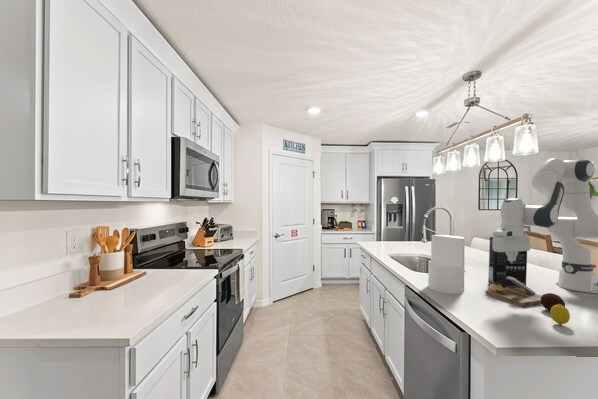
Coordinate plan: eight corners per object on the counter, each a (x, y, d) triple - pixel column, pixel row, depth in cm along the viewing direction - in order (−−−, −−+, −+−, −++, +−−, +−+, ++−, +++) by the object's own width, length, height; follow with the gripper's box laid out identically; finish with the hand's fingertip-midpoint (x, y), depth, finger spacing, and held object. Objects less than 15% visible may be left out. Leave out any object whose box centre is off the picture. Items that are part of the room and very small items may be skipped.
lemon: (546, 322, 112) (546, 301, 112) (559, 321, 112) (559, 301, 112) (560, 328, 106) (560, 306, 106) (574, 328, 107) (574, 306, 107)
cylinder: (440, 282, 166) (440, 234, 166) (470, 290, 151) (471, 237, 152) (421, 286, 157) (421, 235, 157) (452, 295, 142) (452, 239, 143)
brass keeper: (496, 289, 146) (496, 282, 146) (507, 292, 140) (507, 286, 140) (490, 289, 145) (490, 283, 145) (501, 293, 139) (501, 286, 139)
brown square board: (514, 291, 151) (514, 287, 151) (553, 303, 133) (553, 298, 133) (485, 294, 145) (485, 290, 145) (522, 307, 128) (522, 302, 128)
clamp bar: (528, 292, 142) (529, 290, 142) (534, 294, 139) (535, 292, 140) (506, 278, 138) (507, 276, 138) (513, 279, 135) (513, 277, 136)
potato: (547, 314, 120) (547, 296, 120) (535, 306, 128) (535, 289, 129) (570, 316, 117) (570, 298, 117) (557, 308, 126) (557, 291, 126)
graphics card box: (519, 284, 163) (519, 236, 163) (528, 288, 156) (528, 238, 156) (487, 283, 165) (488, 236, 165) (494, 287, 158) (495, 237, 158)
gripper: (521, 230, 143) (520, 258, 143) (489, 231, 137) (489, 260, 137) (534, 232, 137) (534, 261, 137) (502, 233, 131) (502, 263, 131)
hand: (511, 260), depth 137 cm, fingers closed
